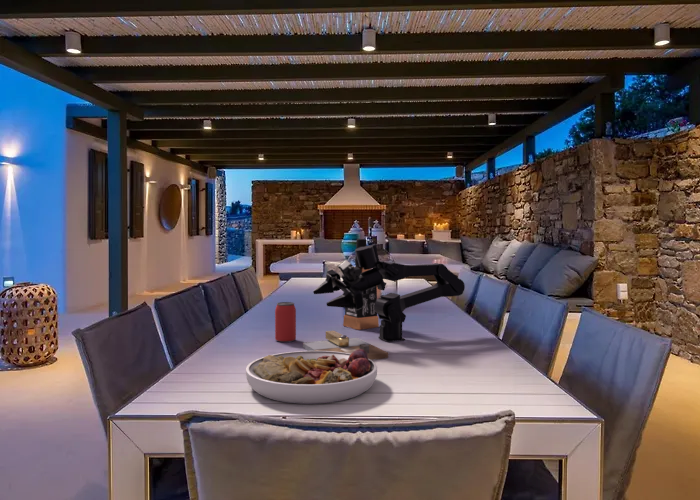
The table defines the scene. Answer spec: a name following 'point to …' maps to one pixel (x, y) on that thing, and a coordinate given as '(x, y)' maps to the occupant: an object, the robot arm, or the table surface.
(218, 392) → the table surface
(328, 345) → the board
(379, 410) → the table surface
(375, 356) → the door board
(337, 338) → the swing bar
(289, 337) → the beer can
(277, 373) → the bowl
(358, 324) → the whiskey bottle
